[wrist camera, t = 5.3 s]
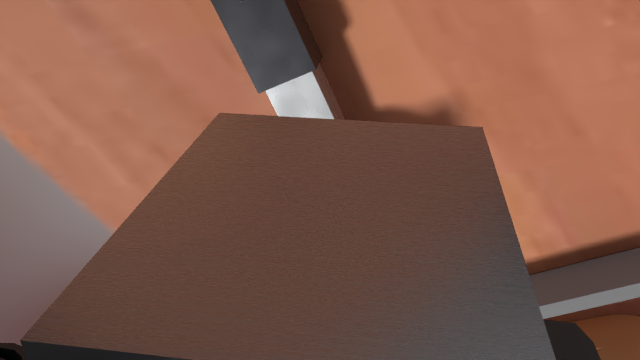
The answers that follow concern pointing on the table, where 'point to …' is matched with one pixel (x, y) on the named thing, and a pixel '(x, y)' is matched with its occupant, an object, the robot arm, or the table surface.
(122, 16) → the table surface
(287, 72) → the ratchet
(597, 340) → the tan slotted hollow cylinder
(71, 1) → the table surface
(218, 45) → the table surface
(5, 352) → the robot arm
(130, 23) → the table surface
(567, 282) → the bar
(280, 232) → the socket
